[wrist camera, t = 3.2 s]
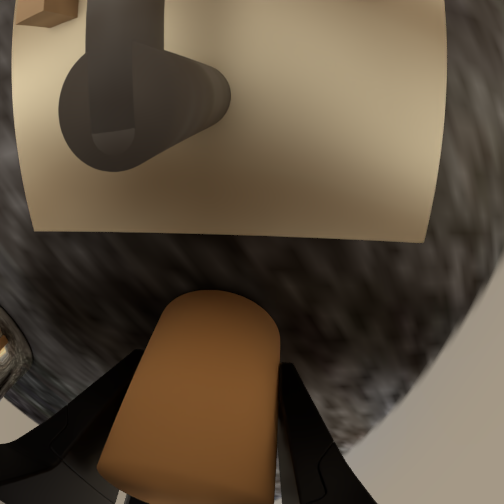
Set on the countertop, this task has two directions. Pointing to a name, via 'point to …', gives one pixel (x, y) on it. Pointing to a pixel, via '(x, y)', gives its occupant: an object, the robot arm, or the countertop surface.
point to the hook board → (231, 115)
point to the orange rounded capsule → (201, 407)
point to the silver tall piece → (12, 353)
